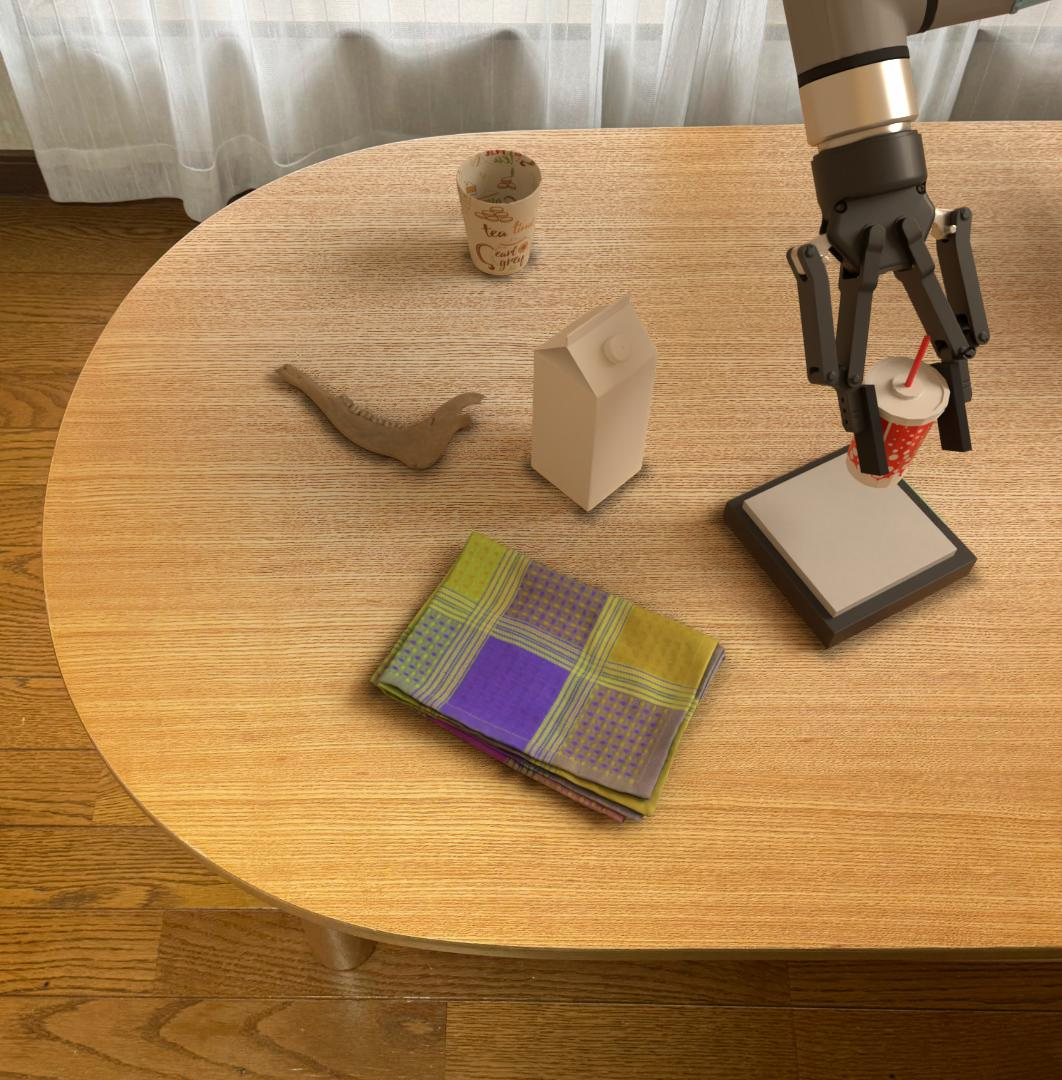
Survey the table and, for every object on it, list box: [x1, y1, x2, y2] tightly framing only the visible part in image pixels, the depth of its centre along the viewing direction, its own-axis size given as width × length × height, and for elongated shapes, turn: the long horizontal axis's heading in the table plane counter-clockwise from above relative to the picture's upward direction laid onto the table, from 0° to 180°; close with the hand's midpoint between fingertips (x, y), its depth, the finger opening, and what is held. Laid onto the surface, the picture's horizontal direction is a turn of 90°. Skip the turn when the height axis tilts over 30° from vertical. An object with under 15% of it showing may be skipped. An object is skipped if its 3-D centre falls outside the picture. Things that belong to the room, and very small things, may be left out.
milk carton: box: [530, 291, 659, 512], centre depth 98 cm, size 7×7×19 cm
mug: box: [455, 149, 543, 276], centre depth 118 cm, size 8×13×10 cm, turn 166°
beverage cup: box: [845, 334, 950, 488], centre depth 86 cm, size 6×6×14 cm
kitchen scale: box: [721, 443, 979, 650], centre depth 99 cm, size 15×15×4 cm
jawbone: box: [274, 363, 487, 470], centre depth 107 cm, size 9×20×2 cm, turn 78°
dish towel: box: [368, 530, 727, 825], centre depth 92 cm, size 18×24×3 cm
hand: (916, 460), depth 86 cm, fingers closed on beverage cup, 6 cm apart
